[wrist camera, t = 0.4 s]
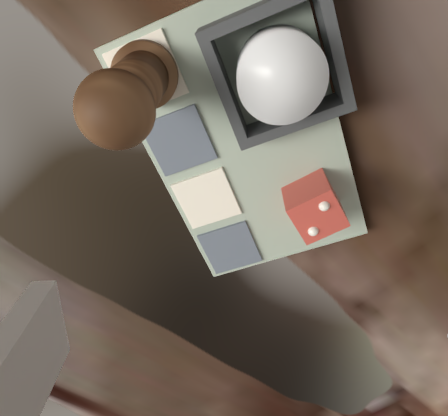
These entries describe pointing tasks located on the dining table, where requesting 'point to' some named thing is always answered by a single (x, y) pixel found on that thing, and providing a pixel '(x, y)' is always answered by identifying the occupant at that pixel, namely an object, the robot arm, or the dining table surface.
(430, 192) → the dining table surface
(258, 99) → the dome
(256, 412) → the dining table surface
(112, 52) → the board
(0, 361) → the robot arm
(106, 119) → the pawn
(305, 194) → the die
